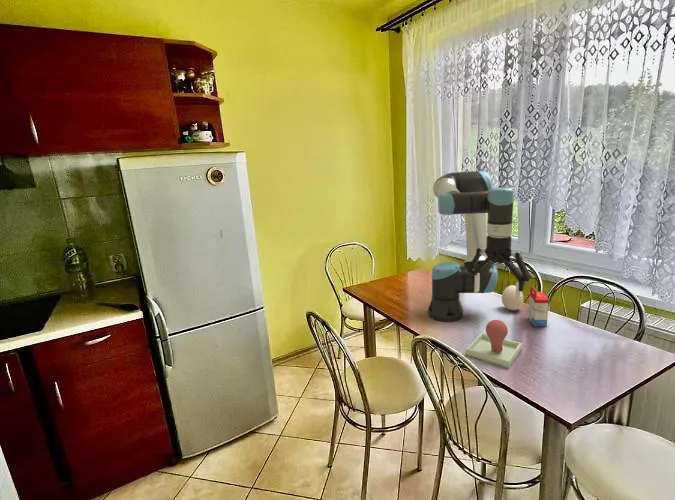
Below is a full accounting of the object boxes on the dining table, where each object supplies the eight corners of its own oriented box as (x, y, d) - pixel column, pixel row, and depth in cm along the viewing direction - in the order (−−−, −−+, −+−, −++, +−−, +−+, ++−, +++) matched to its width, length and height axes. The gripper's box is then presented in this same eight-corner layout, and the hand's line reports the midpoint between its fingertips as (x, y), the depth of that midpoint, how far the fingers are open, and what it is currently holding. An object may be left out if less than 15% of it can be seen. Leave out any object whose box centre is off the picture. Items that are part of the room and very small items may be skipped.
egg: (505, 304, 171) (507, 280, 168) (525, 308, 165) (527, 284, 162) (497, 310, 165) (499, 286, 162) (518, 315, 159) (519, 290, 156)
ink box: (547, 327, 148) (549, 292, 144) (533, 326, 149) (536, 292, 145) (540, 317, 156) (542, 285, 152) (527, 317, 157) (529, 284, 153)
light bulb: (481, 347, 135) (482, 317, 131) (500, 344, 135) (501, 315, 132) (491, 358, 128) (492, 327, 125) (510, 355, 129) (512, 324, 125)
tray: (465, 355, 132) (465, 348, 131) (481, 338, 142) (481, 332, 142) (508, 368, 122) (509, 361, 122) (521, 349, 133) (522, 343, 132)
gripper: (457, 234, 127) (457, 292, 132) (537, 241, 111) (533, 307, 116) (466, 230, 132) (465, 285, 138) (544, 236, 116) (539, 299, 122)
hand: (496, 295), depth 127 cm, fingers open, 13 cm apart
